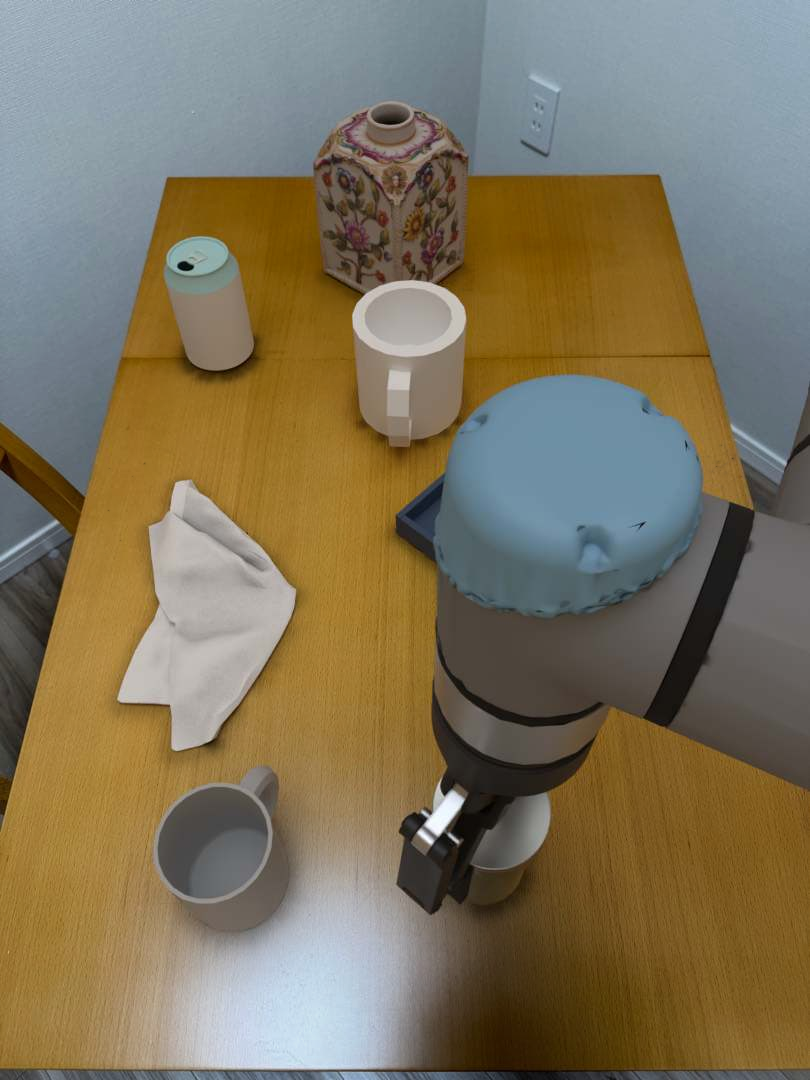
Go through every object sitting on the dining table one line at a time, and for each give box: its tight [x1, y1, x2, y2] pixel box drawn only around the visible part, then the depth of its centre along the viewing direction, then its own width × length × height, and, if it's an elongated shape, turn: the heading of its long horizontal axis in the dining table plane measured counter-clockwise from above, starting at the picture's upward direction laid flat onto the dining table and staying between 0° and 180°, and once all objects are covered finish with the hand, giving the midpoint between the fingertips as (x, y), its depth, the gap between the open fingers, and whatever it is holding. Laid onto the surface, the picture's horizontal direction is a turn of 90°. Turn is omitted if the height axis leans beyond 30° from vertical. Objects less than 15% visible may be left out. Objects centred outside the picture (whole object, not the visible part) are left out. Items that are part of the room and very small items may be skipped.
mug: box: [351, 280, 467, 448], centre depth 80 cm, size 14×10×11 cm
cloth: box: [116, 479, 297, 753], centre depth 71 cm, size 26×14×2 cm, turn 0°
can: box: [163, 235, 255, 371], centre depth 85 cm, size 7×7×12 cm
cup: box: [152, 765, 290, 933], centre depth 56 cm, size 7×10×9 cm
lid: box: [431, 773, 552, 878], centre depth 51 cm, size 7×7×2 cm
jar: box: [463, 867, 526, 906], centre depth 55 cm, size 6×6×10 cm
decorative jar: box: [312, 100, 470, 296], centre depth 90 cm, size 12×12×18 cm
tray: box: [395, 472, 445, 564], centre depth 74 cm, size 13×11×3 cm
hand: (484, 837), depth 55 cm, fingers closed on lid, 7 cm apart
